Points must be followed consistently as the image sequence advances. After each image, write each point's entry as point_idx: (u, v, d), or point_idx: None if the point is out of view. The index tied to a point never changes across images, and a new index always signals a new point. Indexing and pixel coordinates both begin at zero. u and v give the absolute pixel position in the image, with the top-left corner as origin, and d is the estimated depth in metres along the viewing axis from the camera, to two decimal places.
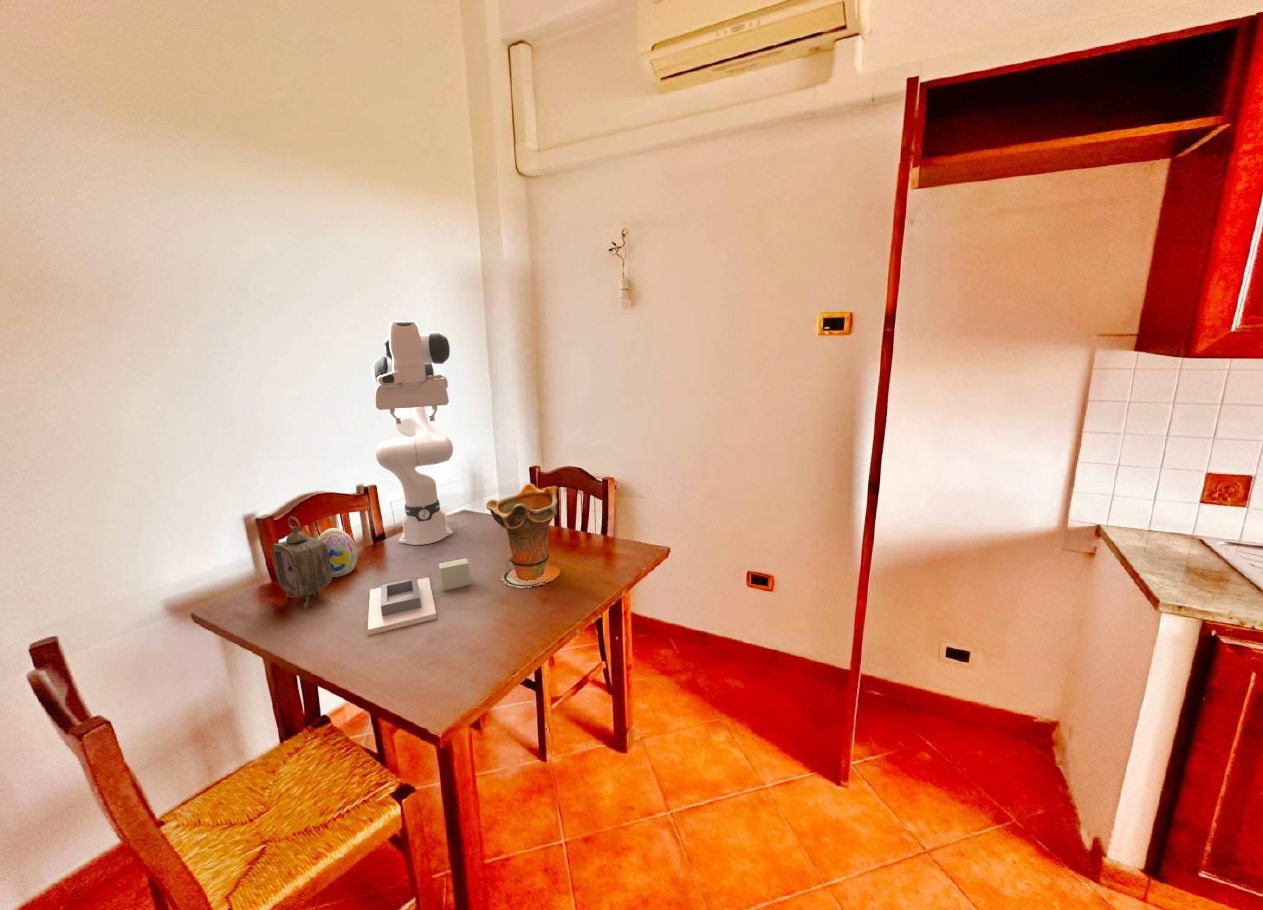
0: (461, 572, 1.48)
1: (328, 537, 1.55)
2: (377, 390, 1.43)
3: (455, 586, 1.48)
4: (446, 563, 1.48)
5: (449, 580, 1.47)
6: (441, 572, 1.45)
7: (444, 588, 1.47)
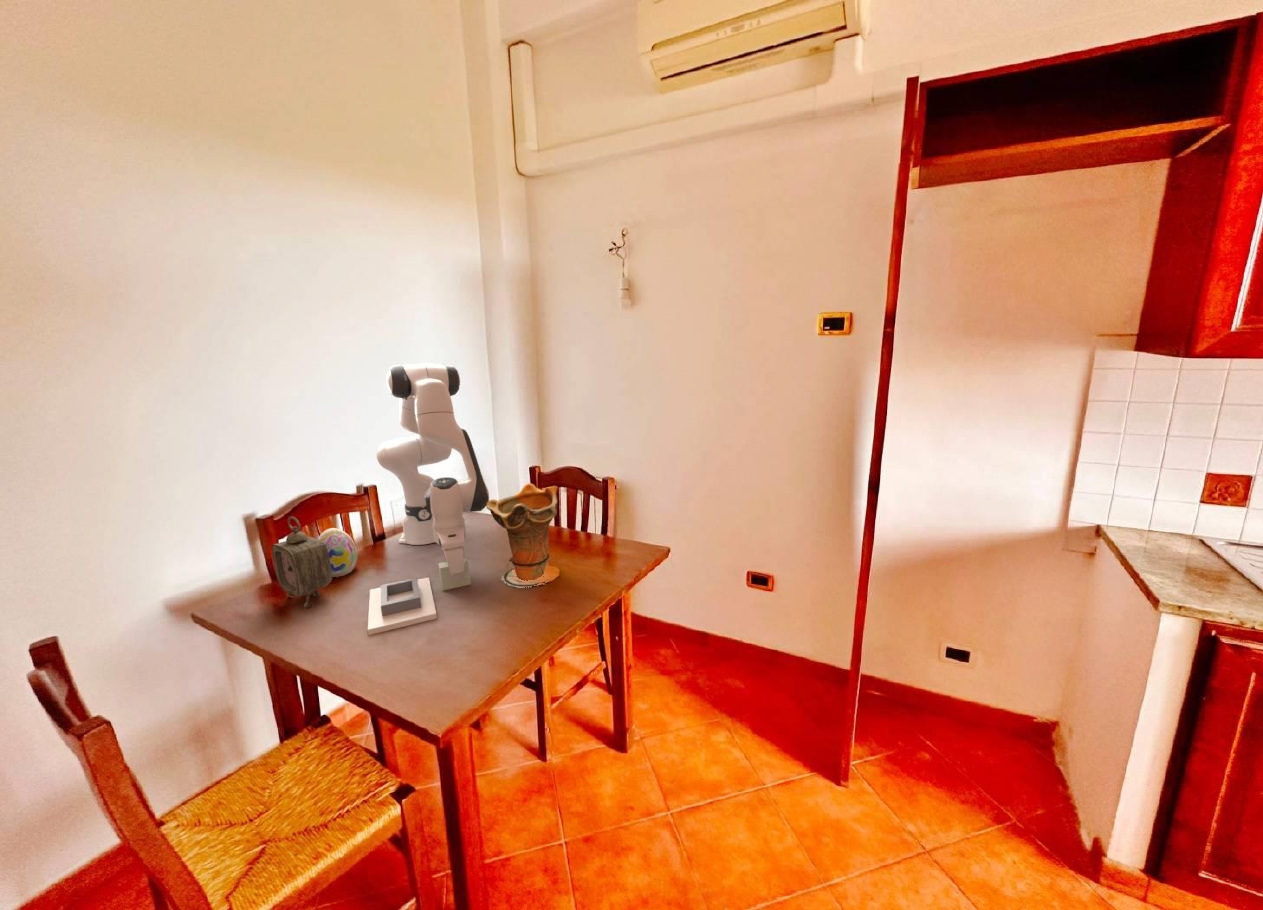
0: None
1: (328, 537, 1.55)
2: (463, 553, 1.40)
3: (455, 586, 1.48)
4: (446, 563, 1.48)
5: (449, 580, 1.47)
6: (441, 572, 1.45)
7: (444, 588, 1.47)
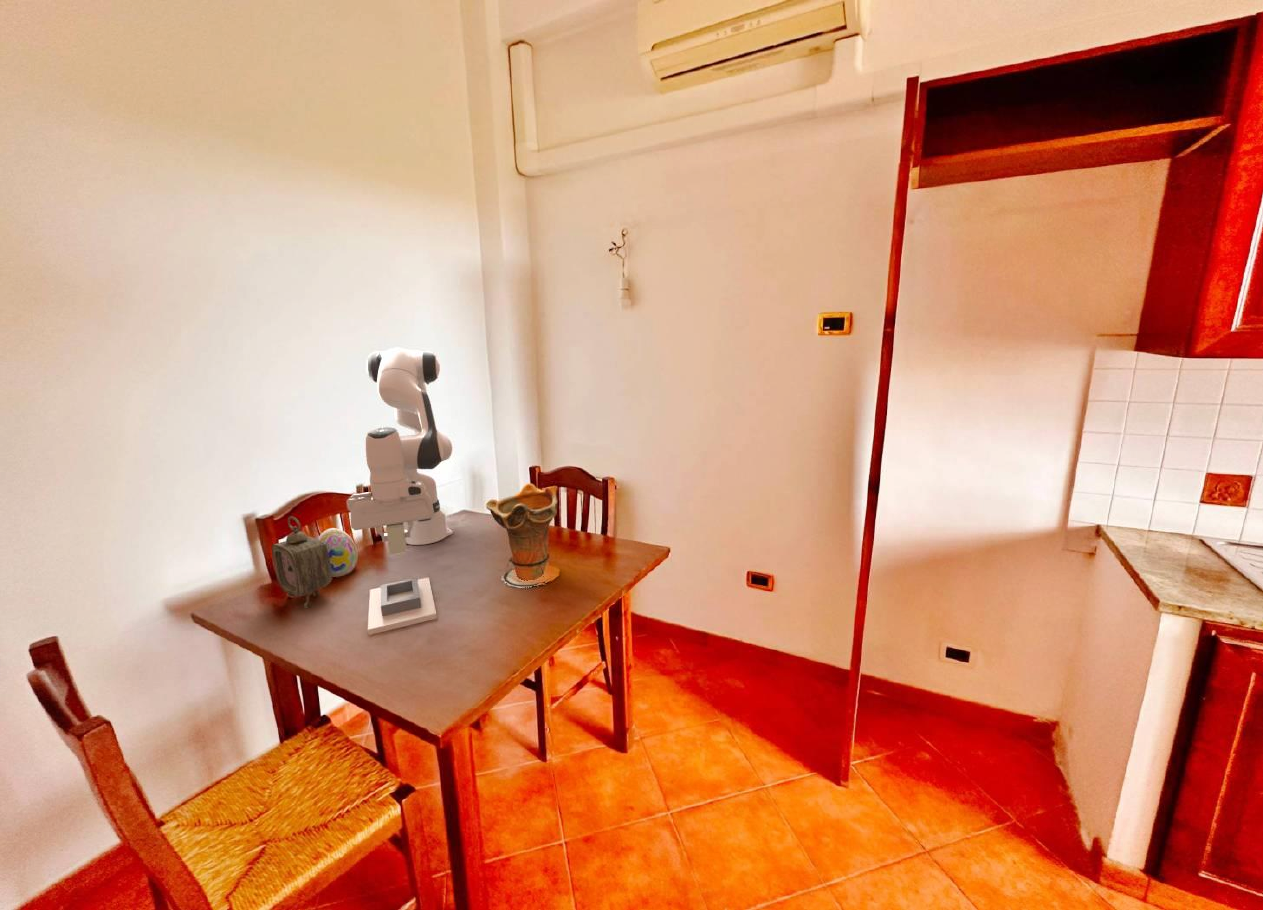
0: None
1: (328, 537, 1.55)
2: None
3: None
4: (390, 526, 1.32)
5: None
6: (403, 530, 1.31)
7: None
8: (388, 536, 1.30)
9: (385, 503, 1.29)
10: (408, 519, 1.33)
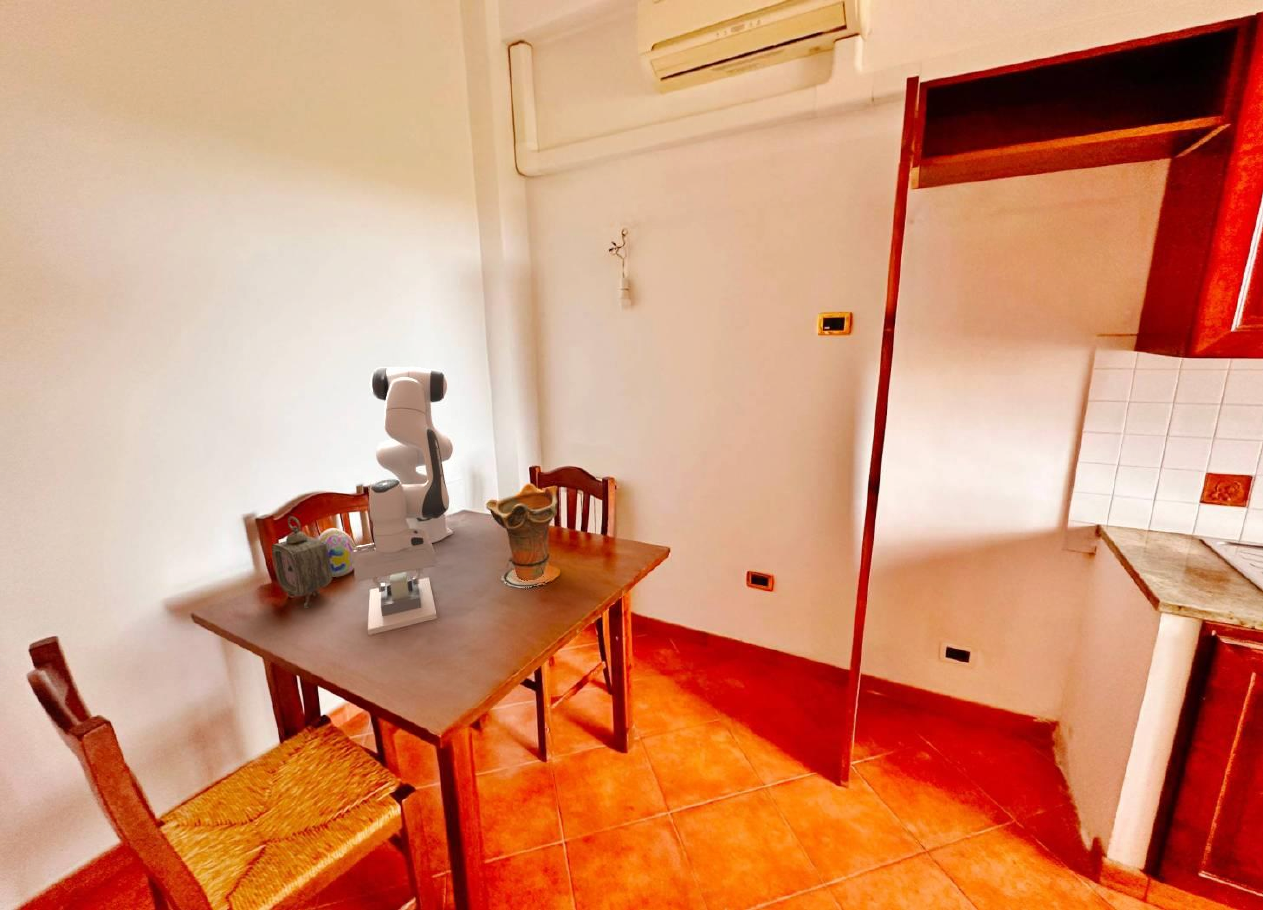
0: None
1: (328, 537, 1.55)
2: None
3: None
4: (394, 580, 1.34)
5: (408, 592, 1.37)
6: (407, 585, 1.34)
7: None
8: (392, 591, 1.33)
9: (388, 554, 1.32)
10: (410, 569, 1.36)
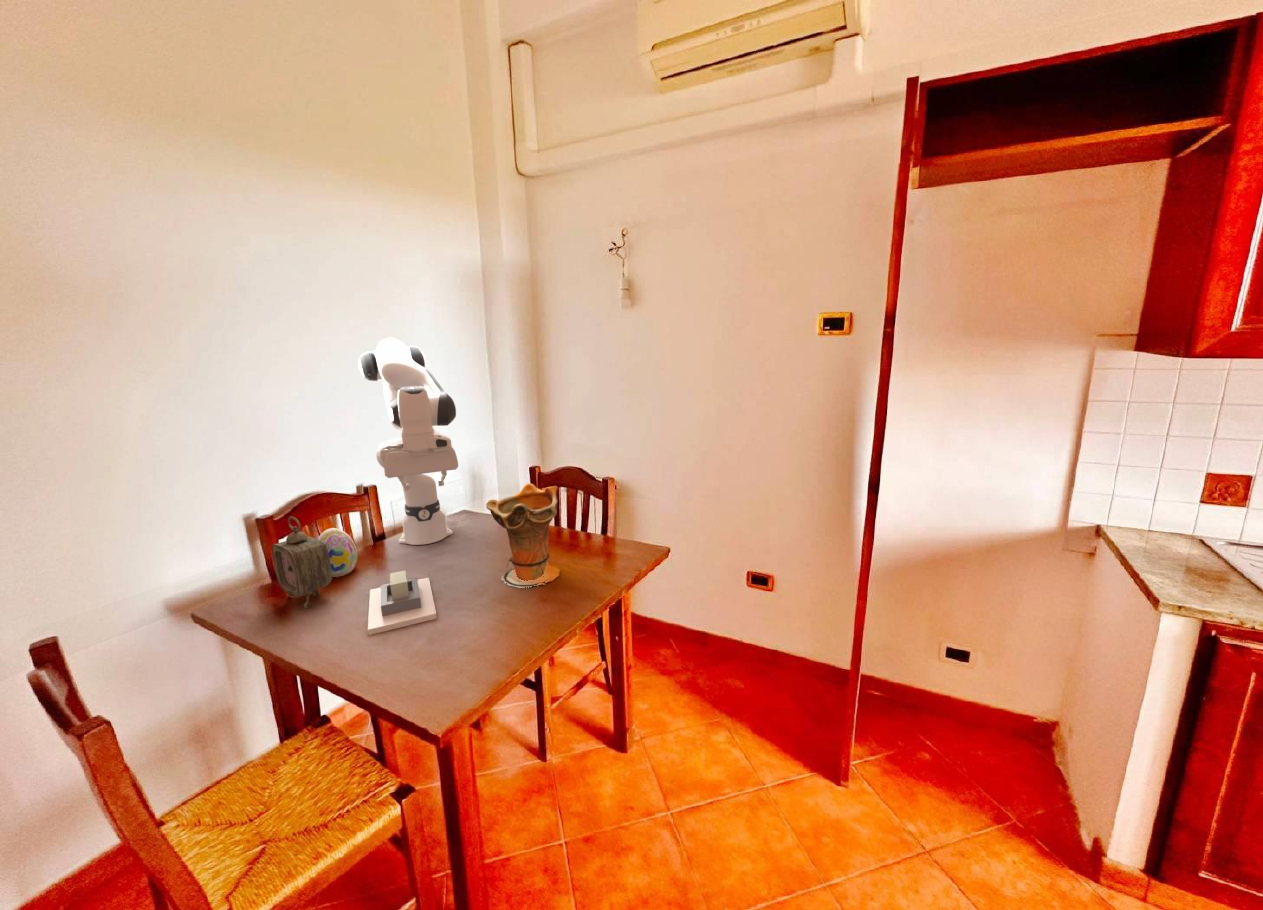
0: None
1: (328, 537, 1.55)
2: None
3: None
4: (394, 580, 1.34)
5: (408, 592, 1.37)
6: (407, 585, 1.34)
7: None
8: (392, 591, 1.33)
9: (415, 454, 1.43)
10: (435, 470, 1.47)
